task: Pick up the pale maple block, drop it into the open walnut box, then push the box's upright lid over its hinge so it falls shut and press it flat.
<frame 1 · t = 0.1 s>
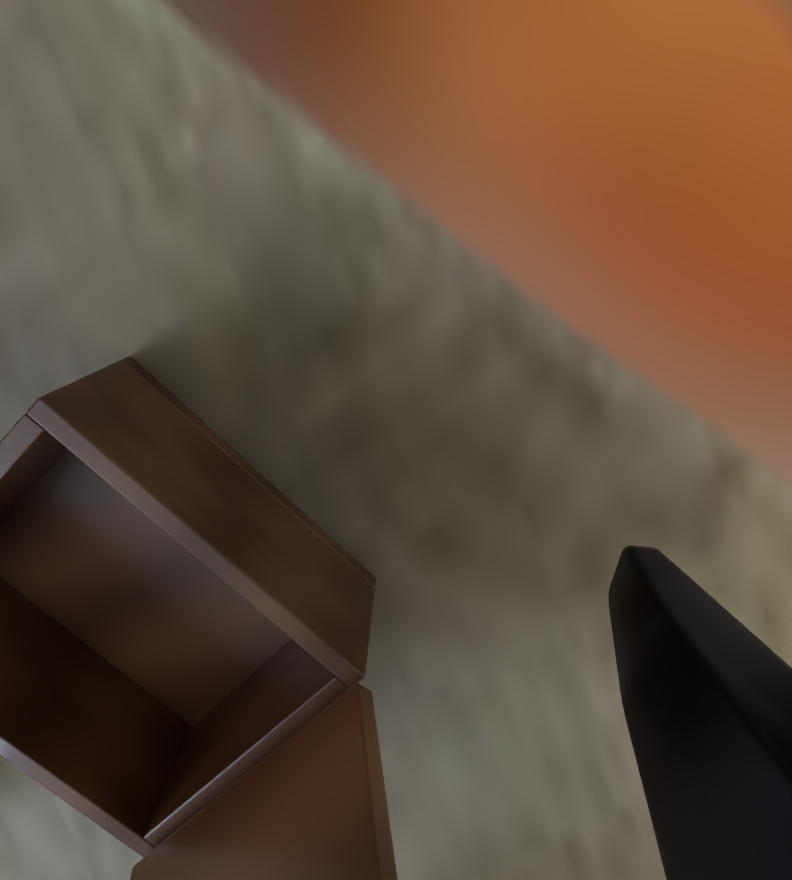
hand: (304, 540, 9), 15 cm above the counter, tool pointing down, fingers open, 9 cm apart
chest: (167, 562, 27), on the counter
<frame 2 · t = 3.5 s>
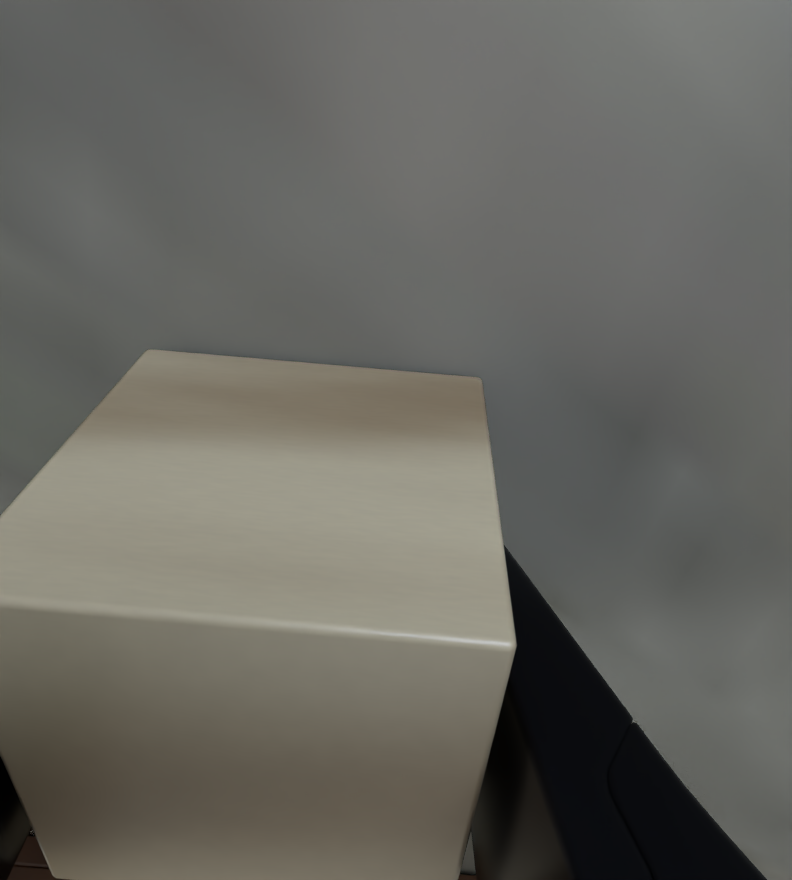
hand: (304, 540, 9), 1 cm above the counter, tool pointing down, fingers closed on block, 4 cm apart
block: (313, 495, 10), on the counter, touching gripper
when the fingers open (2 cm above the counter, at t = 9.0 s): block stays where it is, resting on chest.
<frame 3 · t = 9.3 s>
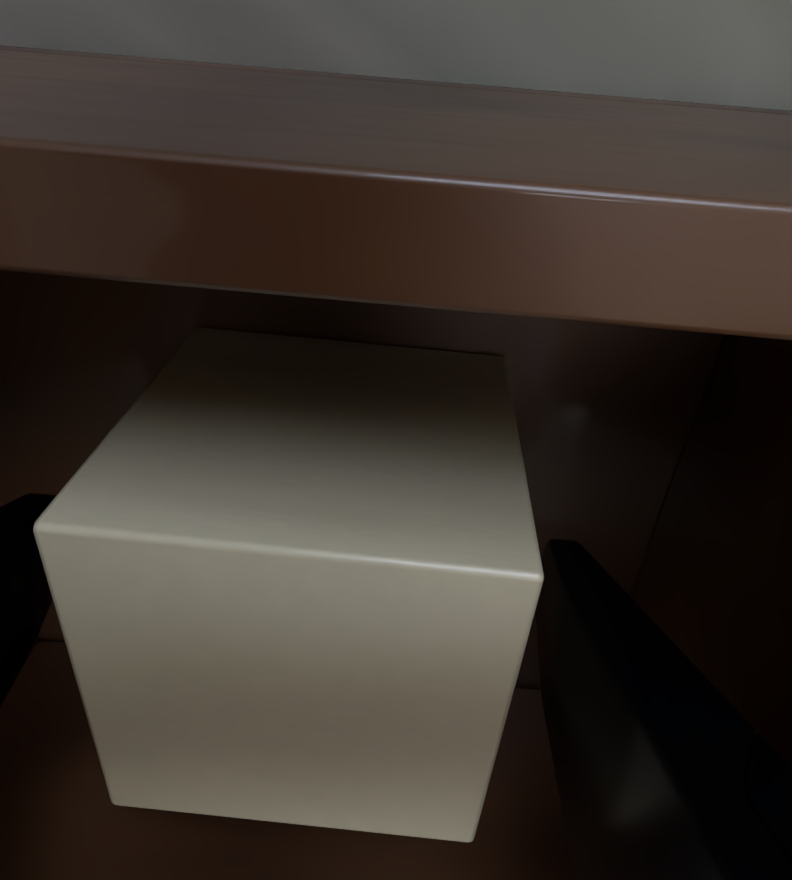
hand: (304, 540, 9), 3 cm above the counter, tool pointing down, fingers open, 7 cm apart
chest: (323, 444, 12), on the counter
block: (344, 467, 11), point 1 cm above the counter, touching chest
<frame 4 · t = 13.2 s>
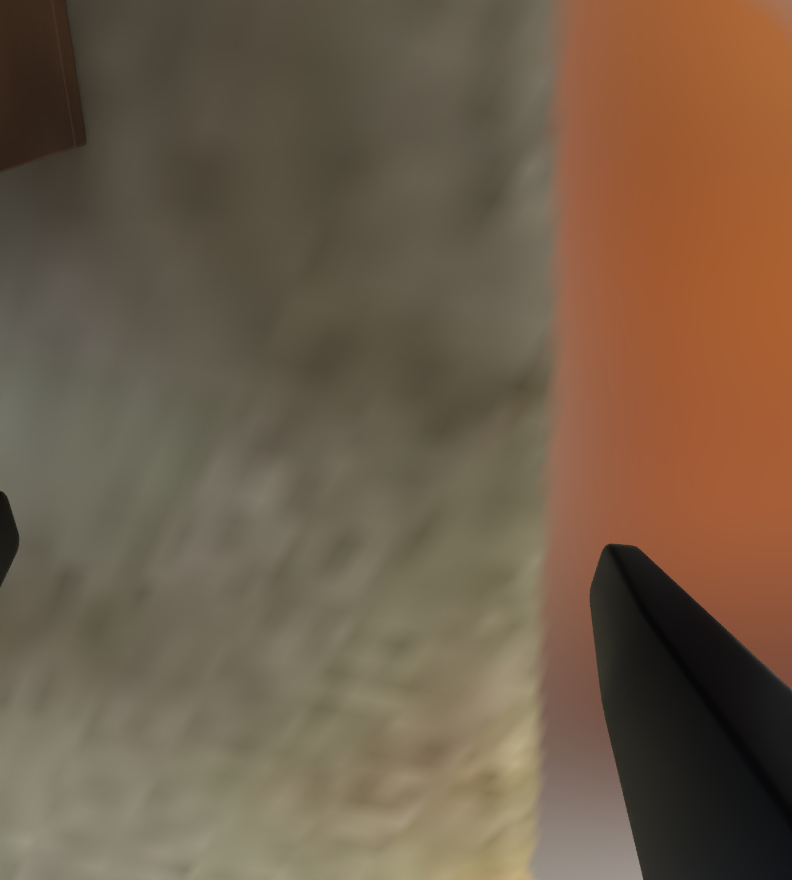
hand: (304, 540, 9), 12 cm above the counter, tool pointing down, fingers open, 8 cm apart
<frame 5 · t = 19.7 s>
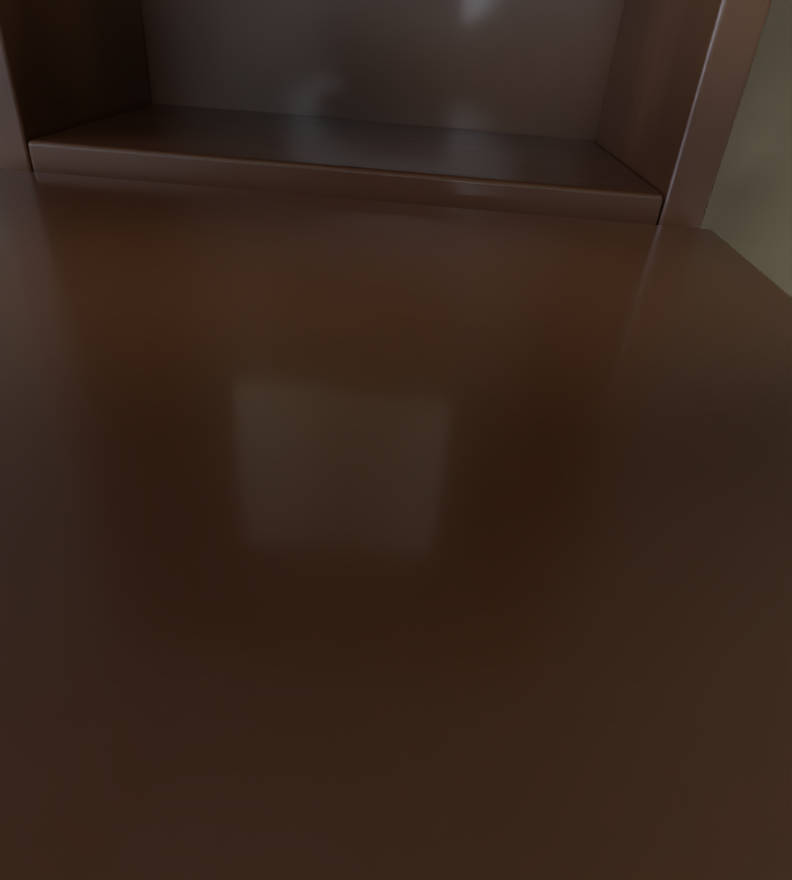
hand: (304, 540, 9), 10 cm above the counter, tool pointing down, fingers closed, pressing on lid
lid: (225, 481, 5), point 13 cm above the counter, hinge at 91.4°, touching gripper
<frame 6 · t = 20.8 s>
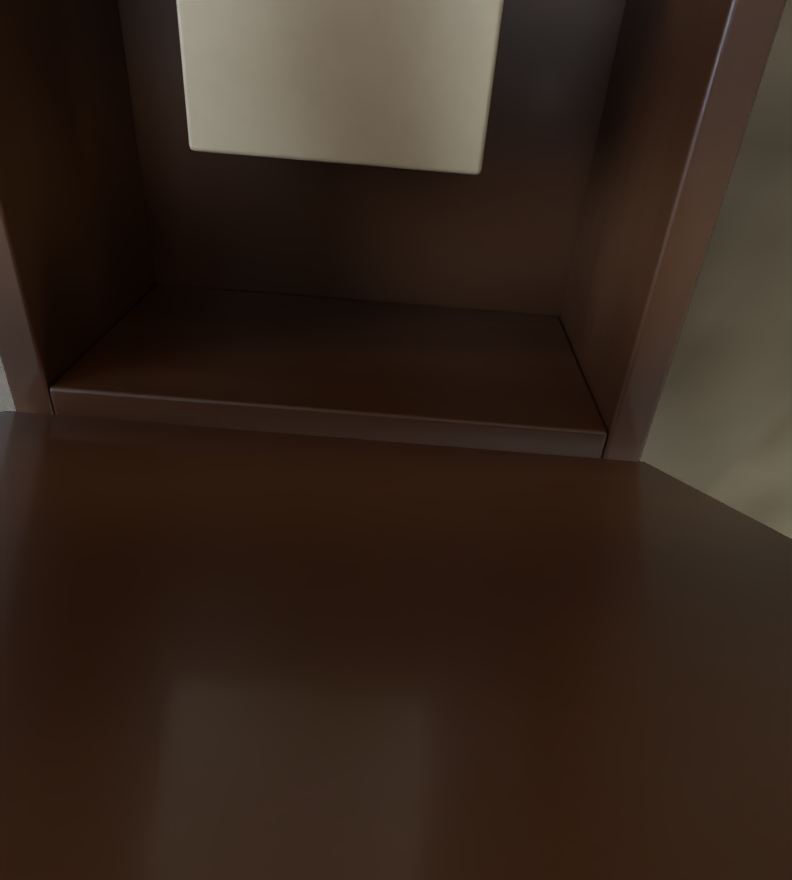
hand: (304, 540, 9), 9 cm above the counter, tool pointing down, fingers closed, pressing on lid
chest: (369, 24, 14), on the counter
lid: (214, 608, 5), point 13 cm above the counter, hinge at 66.1°, touching gripper
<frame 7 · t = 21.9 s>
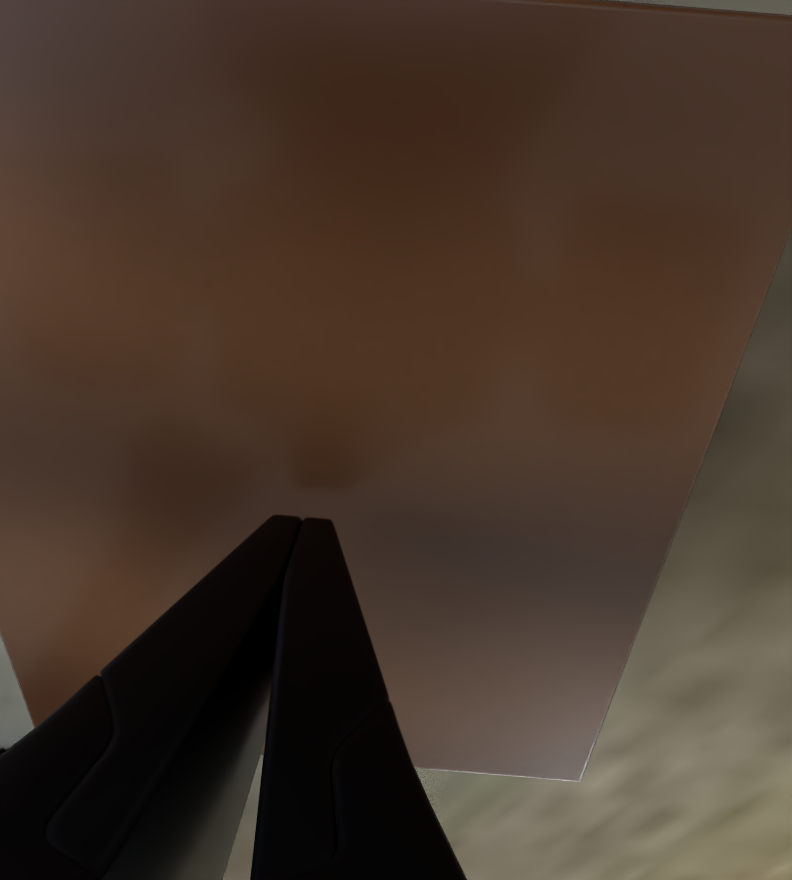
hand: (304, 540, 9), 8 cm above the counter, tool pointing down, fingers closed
lid: (310, 492, 10), point 7 cm above the counter, hinge at -0.2°
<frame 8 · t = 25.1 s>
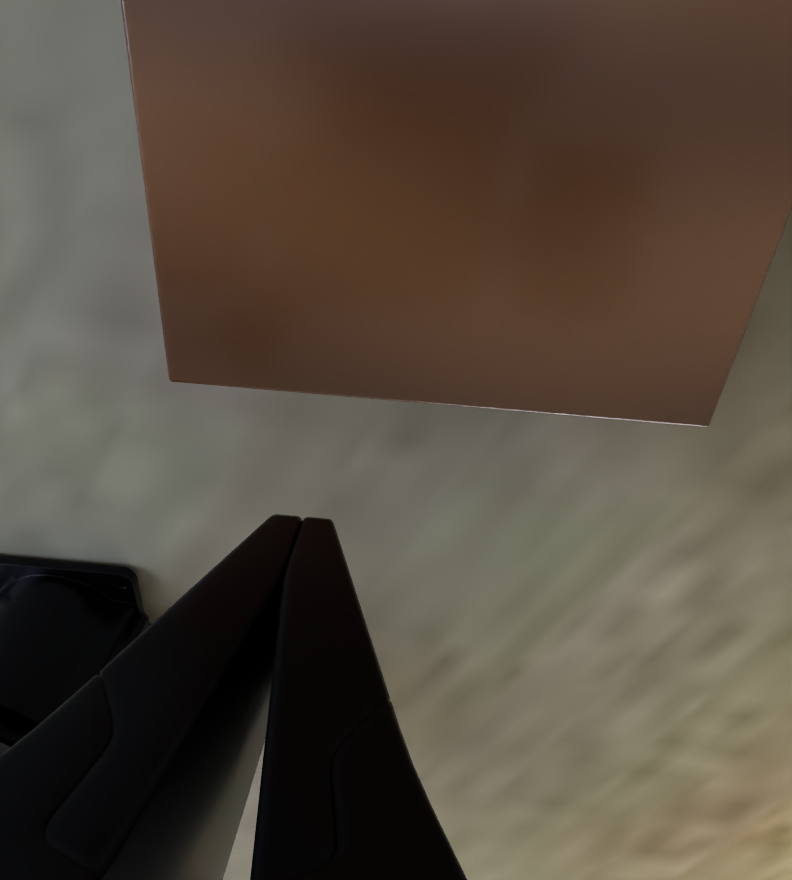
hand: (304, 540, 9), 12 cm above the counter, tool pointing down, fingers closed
lid: (481, 31, 11), point 7 cm above the counter, hinge at -0.2°
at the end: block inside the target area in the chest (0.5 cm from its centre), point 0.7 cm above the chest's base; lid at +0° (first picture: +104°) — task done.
